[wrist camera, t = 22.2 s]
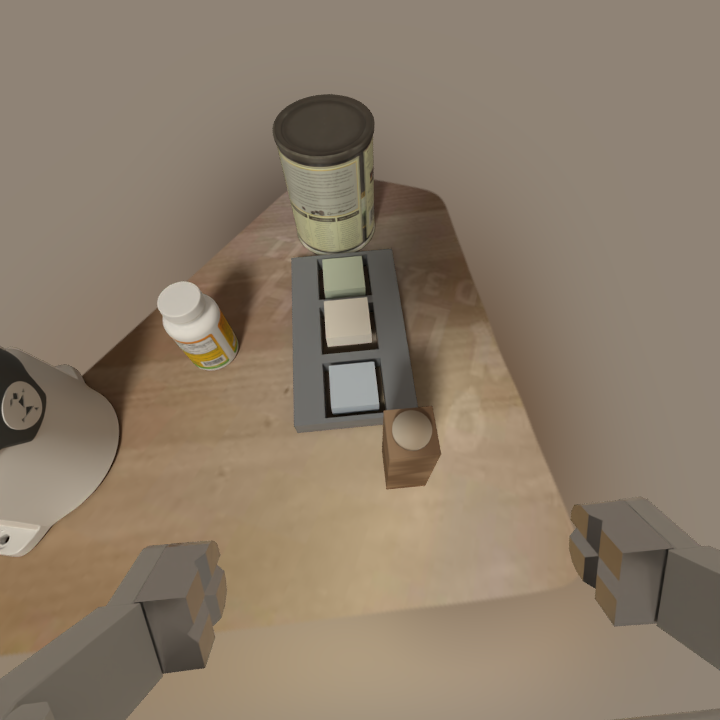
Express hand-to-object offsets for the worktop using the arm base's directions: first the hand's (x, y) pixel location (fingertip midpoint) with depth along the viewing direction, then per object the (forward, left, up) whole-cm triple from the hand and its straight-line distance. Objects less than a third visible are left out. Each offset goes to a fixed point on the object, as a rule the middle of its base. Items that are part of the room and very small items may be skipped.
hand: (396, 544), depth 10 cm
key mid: (-1, +23, -27) cm, 36 cm away
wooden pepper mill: (+3, +8, -29) cm, 31 cm away
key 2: (-1, +30, -28) cm, 42 cm away
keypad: (-1, +23, -29) cm, 38 cm away
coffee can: (-2, +40, -30) cm, 50 cm away
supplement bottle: (-16, +23, -30) cm, 41 cm away
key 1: (-1, +16, -28) cm, 33 cm away
